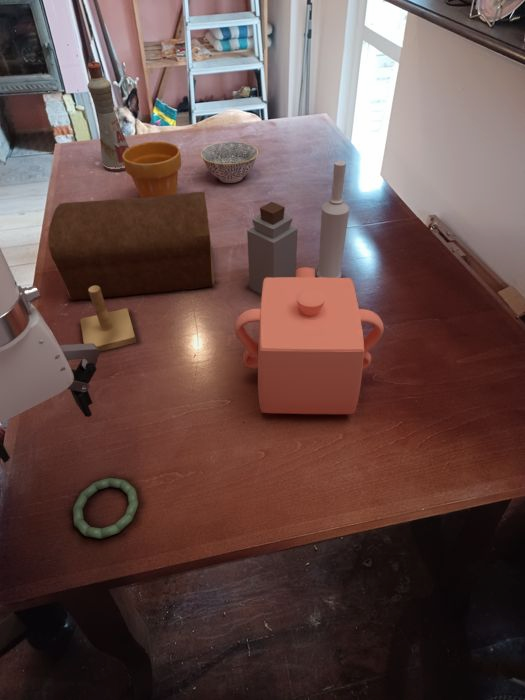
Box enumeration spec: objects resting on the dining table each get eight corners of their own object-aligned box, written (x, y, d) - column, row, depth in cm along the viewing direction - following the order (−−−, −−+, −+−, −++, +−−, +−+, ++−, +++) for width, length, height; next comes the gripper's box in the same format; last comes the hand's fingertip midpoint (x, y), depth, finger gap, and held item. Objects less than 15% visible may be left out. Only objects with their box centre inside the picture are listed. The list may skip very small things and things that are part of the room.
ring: (77, 548, 61) (74, 544, 60) (72, 492, 66) (69, 488, 65) (143, 526, 63) (141, 521, 62) (132, 473, 68) (131, 469, 67)
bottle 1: (105, 161, 147) (79, 57, 128) (135, 159, 148) (113, 55, 128) (101, 173, 141) (73, 66, 121) (132, 171, 142) (110, 64, 122)
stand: (86, 355, 86) (69, 310, 79) (82, 324, 92) (65, 280, 85) (136, 342, 88) (124, 297, 81) (128, 313, 94) (116, 269, 87)
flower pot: (195, 203, 126) (189, 154, 117) (146, 219, 121) (136, 169, 112) (171, 184, 135) (164, 137, 126) (124, 198, 129) (113, 149, 120)
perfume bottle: (249, 287, 99) (246, 208, 87) (271, 273, 103) (271, 195, 90) (273, 301, 96) (273, 220, 84) (295, 286, 100) (298, 206, 87)
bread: (80, 256, 109) (57, 190, 98) (210, 245, 112) (203, 178, 100) (68, 306, 96) (41, 235, 85) (216, 291, 99) (208, 221, 88)
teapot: (244, 317, 93) (239, 236, 80) (361, 318, 92) (374, 237, 79) (234, 421, 75) (227, 337, 62) (379, 423, 74) (401, 339, 61)
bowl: (226, 162, 145) (225, 136, 140) (269, 174, 138) (269, 148, 133) (191, 181, 136) (188, 154, 131) (235, 195, 129) (234, 168, 124)
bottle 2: (315, 286, 100) (324, 168, 82) (317, 271, 103) (326, 156, 86) (340, 288, 99) (354, 170, 81) (341, 273, 103) (355, 157, 85)
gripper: (59, 265, 50) (100, 377, 61) (-132, 338, 42) (-43, 449, 54) (90, 299, 45) (127, 412, 57) (-116, 387, 38) (-23, 496, 49)
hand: (45, 430), depth 55 cm, fingers open, 9 cm apart
